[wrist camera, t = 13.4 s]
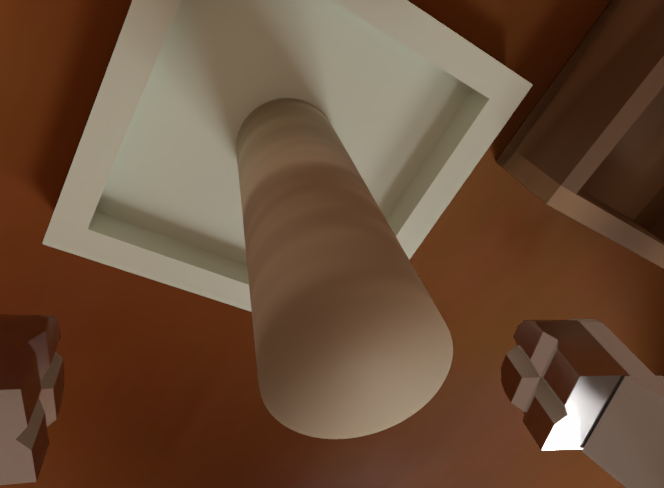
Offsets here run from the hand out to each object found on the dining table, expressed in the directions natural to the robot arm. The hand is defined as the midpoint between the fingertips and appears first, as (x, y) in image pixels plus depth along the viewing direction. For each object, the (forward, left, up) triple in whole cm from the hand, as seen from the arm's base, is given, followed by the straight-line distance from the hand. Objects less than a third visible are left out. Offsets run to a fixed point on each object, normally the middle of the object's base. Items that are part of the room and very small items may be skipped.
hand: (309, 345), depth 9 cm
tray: (0, -1, -10) cm, 10 cm away
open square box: (-11, -7, -10) cm, 16 cm away
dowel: (0, -1, -9) cm, 9 cm away
